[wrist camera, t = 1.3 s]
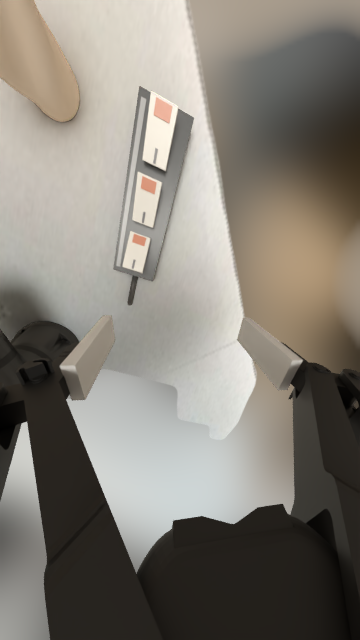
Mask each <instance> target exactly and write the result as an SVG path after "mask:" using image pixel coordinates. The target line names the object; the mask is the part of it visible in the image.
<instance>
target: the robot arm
mask: <svg viewBox="0 0 360 640" xmlns="http://www.w3.org/2000/svg"><path fill="white" fill-rule="evenodd" d="M237 340H238V342H239V343H240V344H241V345H242V347H243V348H244V349H245V350H246V351H247V353H248V354H249V355H250V356H251V358H252V359H253V360H254V361H255V362H256V364H257V365H258V366H259V367H260V369H261V370H262V371H263V372H264V374H265V375H266V376H267V377H268V378H269V380H270V381H271V382H272V383H273V385H274V386H275V387H276V388H277V390H287V389H288V387H289V386H290V384H292V385H293V386H294V389H293V391H292V393H291V395H290V397H289V399H291V398H292V397H293V432H294V433H293V434H294V486H295V500H294V505H293V508H292V511H291V515H289V514H287V512H286V510H285V508H284V506H283V504H279V505H272V506H265V507H259V508H257V509H255V510H254V511H252V512H251V513H250V514H248V515H247V516H246V517H244V518H243V519H241V520H240V521H239V522H237V523H235V524H229V523H225V522H222V521H218V520H214V519H210V518H206V517H203V516H200V517H194V518H187V519H181V520H175V521H173V526H172V529H171V530H170V531H168V532H167V533H165V534H164V535H163V536H162V537H161V538H160V539H159V540H158V541H157V542H156V543H155V544H154V546H153V547H152V548H151V549H150V551H149V552H148V554H147V555H146V557H145V558H144V560H143V562H142V564H141V566H140V568H139V569H138V572H137V574H136V572H135V570H134V567H133V565H132V562H131V560H130V557H129V555H128V552H127V550H126V547H125V545H124V542H123V540H122V537H121V535H120V532H119V530H118V527H117V525H116V522H115V520H114V517H113V515H112V513H111V510H110V508H109V505H108V503H107V501H106V498H105V496H104V493H103V491H102V488H101V486H100V484H99V481H98V478H97V476H96V473H95V471H94V468H93V466H92V463H91V461H90V458H89V456H88V453H87V451H86V448H85V446H84V444H83V441H82V439H81V436H80V434H79V431H78V429H77V426H76V424H75V421H74V419H73V416H72V414H71V411H70V409H69V406H68V404H67V401H66V399H67V397H68V396H69V394H70V396H71V399H72V400H85V399H86V397H87V395H88V393H89V391H90V389H91V387H92V385H93V384H94V381H95V380H96V377H97V376H98V374H99V372H100V370H101V368H102V366H103V364H104V362H105V360H106V358H107V356H108V354H109V352H110V350H111V348H112V346H113V344H114V342H115V335H114V328H113V321H112V316H102V317H101V319H100V320H99V321H98V322H97V323H96V324H95V325H94V327H93V328H92V329H91V330H90V331H89V332H88V334H87V335H86V336H85V337H84V338H83V339H82V340H81V342H80V343H79V342H78V340H77V338H76V337H75V335H74V334H73V333H72V332H71V331H69V330H68V329H67V328H65V327H63V326H61V325H59V324H56V323H52V322H46V321H40V322H34V323H31V324H29V325H28V326H26V327H24V328H22V329H21V330H20V331H19V332H18V333H17V334H16V335H15V337H14V338H13V339H12V341H11V342H10V341H9V340H8V339H7V337H6V336H5V335H4V333H3V332H2V331H1V329H0V500H1V496H2V493H3V489H4V486H5V482H6V478H7V474H8V471H9V467H10V464H11V460H12V456H13V453H14V449H15V445H16V442H17V438H18V434H19V431H20V427H21V423H23V422H27V423H28V430H29V437H30V443H31V450H32V457H33V464H34V470H35V477H36V484H37V491H38V498H39V504H40V511H41V518H42V525H43V531H44V538H45V545H46V553H47V565H46V569H45V573H44V590H45V600H46V608H47V617H48V625H49V632H50V640H360V372H357V371H354V370H350V369H343V371H342V372H341V373H340V374H335V373H331V371H330V370H328V369H327V368H325V367H324V366H322V365H319V364H317V363H308V362H307V361H306V360H305V359H303V358H302V357H301V356H300V355H298V354H297V353H296V352H294V351H293V350H292V349H290V348H289V347H288V346H287V345H286V344H284V343H282V342H280V341H278V340H277V339H276V338H275V337H273V336H272V335H271V334H269V333H268V332H267V331H266V330H265V329H263V328H262V327H261V326H260V325H258V324H257V323H256V322H255V321H253V320H252V319H251V318H243V320H242V324H241V328H240V331H239V335H238V339H237ZM356 401H358V403H359V407H358V408H357V409H356V408H355V407H354V404H355V403H356Z"/></svg>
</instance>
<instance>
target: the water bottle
mask: <svg viewBox="0 0 360 640" xmlns="http://www.w3.org/2000/svg"><path fill="white" fill-rule="evenodd" d="M0 78H2V79H3V80H4V81H5V82H6V83H7V84H8V85H10V86H11V87H12V88H13V89H15V90H16V91H18V92H19V93H21V94H22V95H24V96H25V97H27V98H28V99H30V100H31V101H32V102H34V103H35V104H36V105H37V106H38V107H39V108H40V109H41V110H42V111H43V112H44V113H45V114H46V115H47V116H49V117H50V118H52V119H54V120H56V121H59V122H66V121H69V120H71V119H72V118H73V117H74V116H75V115H76V113H77V111H78V107H79V100H80V97H79V89H78V84H77V81H76V78H75V76H74V73H73V71H72V69H71V68H70V66H69V64H68V62H67V60H66V58H65V56H64V54H63V52H62V50H61V48H60V47H59V45H58V43H57V41H56V39H55V38H54V36H53V34H52V33H51V31H50V29H49V27H48V26H47V24H46V22H45V21H44V19H43V18H42V16H41V14H40V13H39V11H38V9H37V7H36V4H35V2H34V0H0Z"/></svg>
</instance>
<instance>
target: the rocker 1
mask: <svg viewBox="0 0 360 640" xmlns="http://www.w3.org/2000/svg"><path fill="white" fill-rule="evenodd" d="M177 114H178V106H177V105H175V104H173V103H171V102H170V101H168V100H166V99H165V98H163V97H161V96H160V95H158V94H156V93H154V92H153V91H151V95H150V103H149V111H148V119H147V127H146V135H145V143H144V151H143V159H142V160H143V161H145V162H147V163H149V164H151V165H153V166H155V167H158V168H160V169H162V170H164V171H166V168H167V163H168V159H169V154H170V149H171V144H172V139H173V134H174V129H175V124H176V119H177Z"/></svg>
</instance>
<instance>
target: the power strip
mask: <svg viewBox="0 0 360 640" xmlns="http://www.w3.org/2000/svg"><path fill="white" fill-rule="evenodd" d="M150 95H151V92H149V91H147V90H146V89H144V88H142V87H141V86H139V93H138V100H137V107H136V114H135V121H134V128H133V135H132V142H131V149H130V156H129V163H128V170H127V177H126V184H125V191H124V198H123V205H122V212H121V219H120V226H119V234H118V241H117V248H116V255H115V262H114V270H117V271H121V272H124V273H127V274H130V275H133V277H132V282H131V287H130V292H129V298H128V305H132V302H133V297H134V292H135V288H136V283H137V278H138V277H140V278H144V279H147V280H150V281H153V280H154V276H155V272H156V268H157V264H158V260H159V256H160V252H161V248H162V244H163V240H164V236H165V232H166V228H167V224H168V220H169V216H170V212H171V208H172V204H173V200H174V196H175V192H176V188H177V184H178V180H179V176H180V172H181V168H182V164H183V160H184V156H185V152H186V148H187V144H188V141H189V137H190V133H191V128H192V124H193V120H194V118H193V117H192V116H190V115H188V114H187V113H185V112H183V111H182V110H180V109H178V114H177V119H176V124H175V129H174V134H173V139H172V144H171V149H170V154H169V159H168V163H167V168H166V171H164V170H162V169H160V168H158V167H155V166H153V165H151V164H149V163H147V162H145V161H143V160H142V159H143V151H144V143H145V135H146V127H147V119H148V111H149V103H150ZM138 172H140V173H142V174H145V175H147V176H149V177H151V178H153V179H156V180H158V181H160V182H162V188H161V193H160V198H159V203H158V208H157V213H156V218H155V223H154V227H153V228H152V227H149V226H146V225H144V224H141V223H139V222H136V221H133V220H132V217H133V209H134V200H135V192H136V183H137V174H138ZM130 231H132V232H135V233H138V234H140V235H143V236H146V237H148V238H151V241H150V245H149V249H148V253H147V257H146V262H145V266H144V270H143V274H142V273H139V272H136V271H133V270H129V269H126V268H123V267H122V266H123V261H124V257H125V252H126V248H127V244H128V239H129V235H130Z"/></svg>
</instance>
